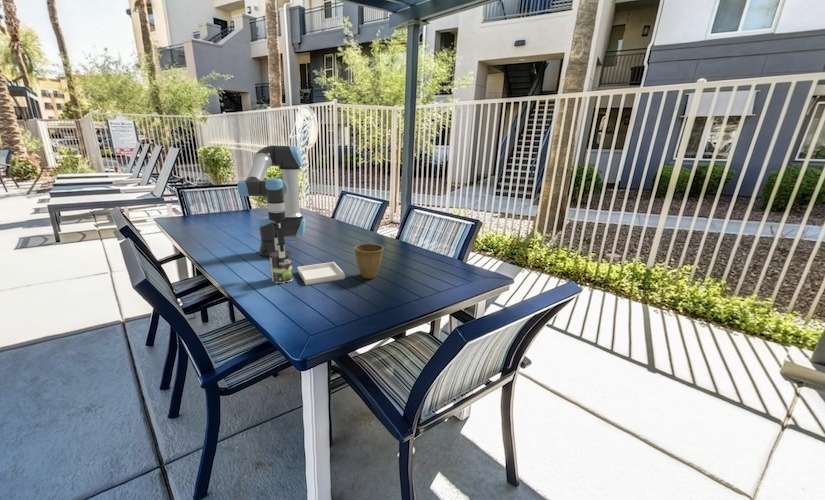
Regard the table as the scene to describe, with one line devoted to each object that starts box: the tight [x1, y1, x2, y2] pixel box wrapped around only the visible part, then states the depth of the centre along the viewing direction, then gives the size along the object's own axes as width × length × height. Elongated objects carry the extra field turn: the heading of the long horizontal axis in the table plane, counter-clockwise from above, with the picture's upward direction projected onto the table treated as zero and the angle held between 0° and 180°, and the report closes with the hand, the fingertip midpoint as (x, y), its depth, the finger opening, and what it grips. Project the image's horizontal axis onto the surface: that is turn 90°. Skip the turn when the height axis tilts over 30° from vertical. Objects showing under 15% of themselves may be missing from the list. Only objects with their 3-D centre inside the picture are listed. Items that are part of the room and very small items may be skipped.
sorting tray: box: [297, 261, 346, 286], centre depth 180 cm, size 20×20×3 cm
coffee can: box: [269, 250, 294, 284], centre depth 171 cm, size 10×10×14 cm
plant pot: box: [354, 243, 384, 279], centre depth 179 cm, size 15×15×16 cm
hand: (280, 253), depth 169 cm, fingers open, 13 cm apart
